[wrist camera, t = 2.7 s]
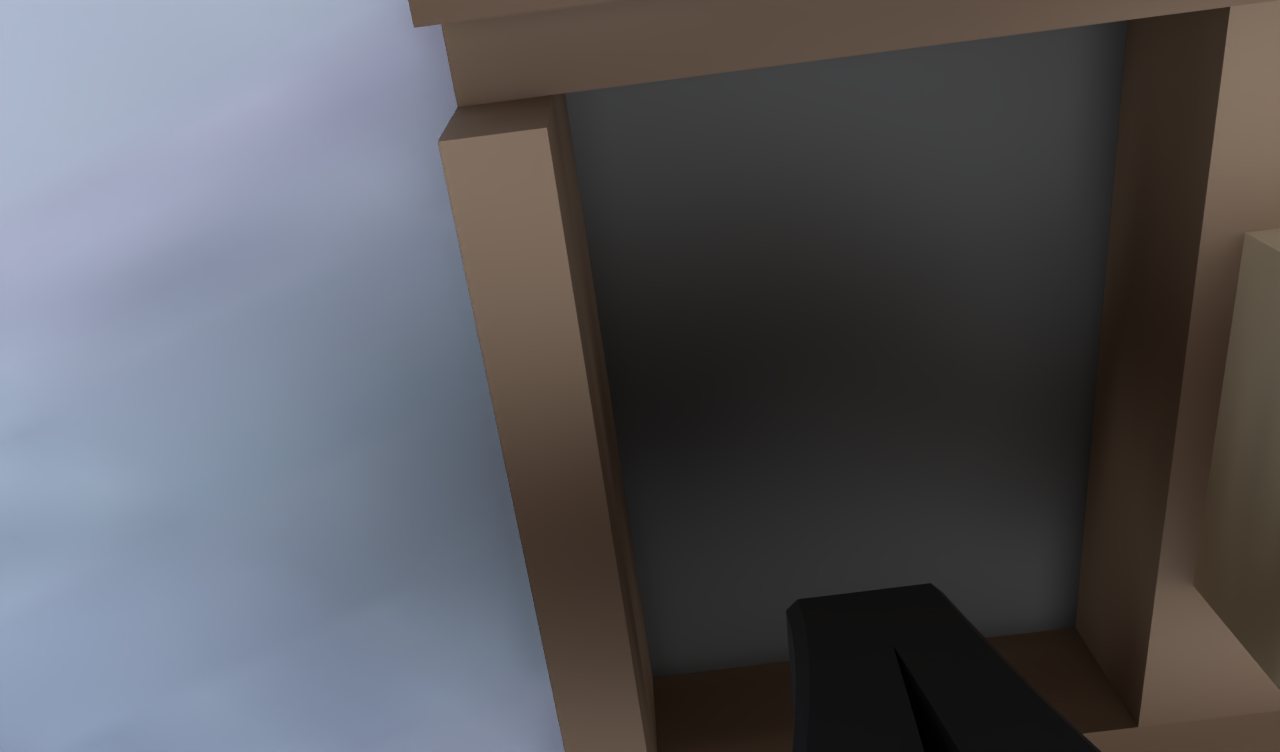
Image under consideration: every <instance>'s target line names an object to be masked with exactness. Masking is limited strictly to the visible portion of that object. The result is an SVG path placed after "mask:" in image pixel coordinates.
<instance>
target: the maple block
mask: <svg viewBox="0 0 1280 752" xmlns="http://www.w3.org/2000/svg"><path fill="white" fill-rule="evenodd" d="M1193 586H1194V587H1195V589H1196V590H1197V591H1198V592H1199V594H1200V595H1201V596H1202V597H1203V598H1204V600H1205V601H1206V602H1207V603H1208V604H1209V606H1210V607H1211V608H1212V609H1213V610H1214V612H1215V613H1216V614H1217V615H1218V616H1219V618H1220V619H1221V620H1222V621H1223V623H1224V624H1225V625H1226V626H1227V627H1228V629H1229V630H1230V631H1231V632H1232V633H1233V635H1234V636H1235V637H1236V638H1237V639H1238V641H1239V642H1240V643H1241V644H1242V645H1243V647H1244V648H1245V649H1246V650H1247V651H1248V653H1249V654H1250V655H1251V656H1252V658H1253V659H1254V660H1255V661H1256V662H1257V664H1258V665H1259V666H1260V667H1261V668H1262V670H1263V671H1264V672H1265V673H1266V674H1267V676H1268V677H1269V678H1270V679H1271V680H1272V682H1273V683H1274V684H1275V685H1276V687H1277V688H1278V689H1279V690H1280V228H1276V229H1269V230H1261V231H1253V232H1245V237H1244V244H1243V251H1242V257H1241V264H1240V271H1239V278H1238V285H1237V291H1236V298H1235V305H1234V312H1233V318H1232V325H1231V332H1230V339H1229V345H1228V352H1227V359H1226V366H1225V373H1224V379H1223V386H1222V393H1221V400H1220V406H1219V413H1218V420H1217V427H1216V434H1215V440H1214V447H1213V454H1212V461H1211V467H1210V474H1209V481H1208V488H1207V494H1206V501H1205V508H1204V515H1203V522H1202V528H1201V535H1200V542H1199V549H1198V555H1197V562H1196V569H1195V576H1194V582H1193Z"/></svg>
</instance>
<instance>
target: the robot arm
mask: <svg viewBox="0 0 1280 752" xmlns="http://www.w3.org/2000/svg"><path fill="white" fill-rule="evenodd" d="M786 621H787V634H788V648H789V662H790V676H791V689H792V703H793V717H794V738H793V750H792V752H1101V751H1100V750H1099V749H1098V748H1097V747H1096V746H1095V745H1094V744H1093V743H1092V742H1091V741H1089V740H1088V739H1087V738H1086V737H1085V736H1084V735H1083V734H1082V733H1081V732H1080V731H1079V730H1078V729H1077V728H1076V727H1074V726H1073V725H1072V724H1071V723H1070V722H1069V721H1068V720H1067V719H1066V718H1065V717H1064V716H1063V715H1062V714H1061V713H1059V712H1058V711H1057V710H1056V709H1055V708H1054V707H1053V706H1052V705H1051V704H1050V703H1049V702H1048V701H1047V700H1046V699H1045V698H1044V697H1043V696H1042V695H1041V694H1040V693H1039V692H1038V691H1037V690H1036V689H1035V688H1034V687H1033V686H1032V685H1031V684H1030V683H1029V682H1028V681H1027V680H1026V679H1025V678H1024V677H1023V676H1022V675H1021V674H1020V673H1019V672H1018V671H1017V670H1016V669H1015V668H1014V667H1013V666H1012V665H1011V664H1010V663H1009V662H1008V661H1007V660H1006V659H1005V658H1004V657H1003V656H1002V655H1001V654H1000V653H999V652H998V651H997V650H996V649H995V648H994V647H993V646H992V644H991V643H990V642H989V641H988V640H987V639H986V638H985V637H984V636H983V635H982V634H981V633H980V632H979V631H978V630H977V629H976V628H975V627H974V626H973V624H972V623H971V622H970V621H969V620H968V619H967V618H966V617H965V616H964V615H963V614H962V613H961V612H960V611H959V609H958V608H957V607H956V606H955V605H954V604H953V603H952V602H951V601H950V600H949V599H948V597H947V596H946V595H945V594H944V593H943V592H942V591H940V590H939V589H938V588H937V587H935V586H934V585H933V584H931V583H927V584H919V585H911V586H902V587H894V588H886V589H878V590H869V591H861V592H853V593H845V594H836V595H828V596H820V597H812V598H803V599H797V600H796V601H795V602H794V603H793V604H792V605H791V606H790V607H789V608H788V609H787V610H786Z"/></svg>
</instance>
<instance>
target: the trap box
mask: <svg viewBox="0 0 1280 752" xmlns="http://www.w3.org/2000/svg"><path fill="white" fill-rule="evenodd" d="M408 1H409V6H410V11H411V15H412V20H413V25H414V27H422V26H430V25H437V24H441V25H442V30H443V35H444V40H445V45H446V50H447V55H448V61H449V66H450V71H451V76H452V81H453V86H454V91H455V96H456V101H457V106H458V107H457V109H456V111H455V113H454V114H453V116H452V118H451V120H450V121H449V123H448V125H447V127H446V128H445V130H444V132H443V134H442V135H441V137H440V139H439V141H438V145H439V150H440V155H441V159H442V164H443V169H444V174H445V179H446V183H447V188H448V193H449V198H450V203H451V207H452V212H453V217H454V222H455V227H456V231H457V236H458V241H459V246H460V251H461V255H462V260H463V265H464V270H465V275H466V279H467V284H468V289H469V294H470V299H471V303H472V308H473V313H474V318H475V323H476V327H477V332H478V337H479V342H480V347H481V351H482V356H483V361H484V366H485V371H486V375H487V380H488V385H489V390H490V395H491V399H492V404H493V409H494V414H495V419H496V423H497V428H498V433H499V438H500V443H501V447H502V452H503V457H504V462H505V467H506V471H507V476H508V481H509V486H510V491H511V495H512V500H513V505H514V510H515V515H516V519H517V524H518V529H519V534H520V539H521V543H522V548H523V553H524V558H525V563H526V567H527V572H528V577H529V582H530V587H531V591H532V596H533V601H534V606H535V611H536V615H537V620H538V625H539V630H540V634H541V639H542V644H543V649H544V654H545V658H546V663H547V668H548V673H549V678H550V682H551V687H552V692H553V697H554V702H555V706H556V711H557V716H558V721H559V726H560V730H561V735H562V740H563V745H564V750H565V752H792V750H793V738H794V717H793V703H792V689H791V676H790V662H789V648H788V634H787V621H786V610H787V609H788V608H789V607H790V606H791V605H792V604H793V603H794V602H795V601H796V600H797V599H803V598H812V597H820V596H828V595H836V594H845V593H853V592H861V591H869V590H878V589H886V588H894V587H902V586H911V585H919V584H927V583H931V584H933V585H934V586H935V587H937V588H938V589H939V590H940V591H942V592H943V593H944V594H945V595H946V596H947V597H948V599H949V600H950V601H951V602H952V603H953V604H954V605H955V606H956V607H957V608H958V609H959V611H960V612H961V613H962V614H963V615H964V616H965V617H966V618H967V619H968V620H969V621H970V622H971V623H972V624H973V626H974V627H975V628H976V629H977V630H978V631H979V632H980V633H981V634H982V635H983V636H984V637H985V638H986V639H987V640H988V641H989V642H990V643H991V644H992V646H993V647H994V648H995V649H996V650H997V651H998V652H999V653H1000V654H1001V655H1002V656H1003V657H1004V658H1005V659H1006V660H1007V661H1008V662H1009V663H1010V664H1011V665H1012V666H1013V667H1014V668H1015V669H1016V670H1017V671H1018V672H1019V673H1020V674H1021V675H1022V676H1023V677H1024V678H1025V679H1026V680H1027V681H1028V682H1029V683H1030V684H1031V685H1032V686H1033V687H1034V688H1035V689H1036V690H1037V691H1038V692H1039V693H1040V694H1041V695H1042V696H1043V697H1044V698H1045V699H1046V700H1047V701H1048V702H1049V703H1050V704H1051V705H1052V706H1053V707H1054V708H1055V709H1056V710H1057V711H1058V712H1059V713H1061V714H1062V715H1063V716H1064V717H1065V718H1066V719H1067V720H1068V721H1069V722H1070V723H1071V724H1072V725H1073V726H1074V727H1076V728H1077V729H1078V730H1079V731H1080V732H1081V733H1082V734H1083V735H1084V736H1085V737H1086V738H1087V739H1088V740H1089V741H1091V742H1092V743H1093V744H1094V745H1095V746H1096V747H1097V748H1098V749H1099V750H1100V751H1101V752H1280V690H1279V689H1278V688H1277V687H1276V685H1275V684H1274V683H1273V682H1272V680H1271V679H1270V678H1269V677H1268V676H1267V674H1266V673H1265V672H1264V671H1263V670H1262V668H1261V667H1260V666H1259V665H1258V664H1257V662H1256V661H1255V660H1254V659H1253V658H1252V656H1251V655H1250V654H1249V653H1248V651H1247V650H1246V649H1245V648H1244V647H1243V645H1242V644H1241V643H1240V642H1239V641H1238V639H1237V638H1236V637H1235V636H1234V635H1233V633H1232V632H1231V631H1230V630H1229V629H1228V627H1227V626H1226V625H1225V624H1224V623H1223V621H1222V620H1221V619H1220V618H1219V616H1218V615H1217V614H1216V613H1215V612H1214V610H1213V609H1212V608H1211V607H1210V606H1209V604H1208V603H1207V602H1206V601H1205V600H1204V598H1203V597H1202V596H1201V595H1200V594H1199V592H1198V591H1197V590H1196V589H1195V587H1194V586H1193V582H1194V576H1195V569H1196V562H1197V555H1198V549H1199V542H1200V535H1201V528H1202V522H1203V515H1204V508H1205V501H1206V494H1207V488H1208V481H1209V474H1210V467H1211V461H1212V454H1213V447H1214V440H1215V434H1216V427H1217V420H1218V413H1219V406H1220V400H1221V393H1222V386H1223V379H1224V373H1225V366H1226V359H1227V352H1228V345H1229V339H1230V332H1231V325H1232V318H1233V312H1234V305H1235V298H1236V291H1237V285H1238V278H1239V271H1240V264H1241V257H1242V251H1243V244H1244V237H1245V232H1253V231H1261V230H1269V229H1276V228H1280V0H408Z"/></svg>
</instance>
